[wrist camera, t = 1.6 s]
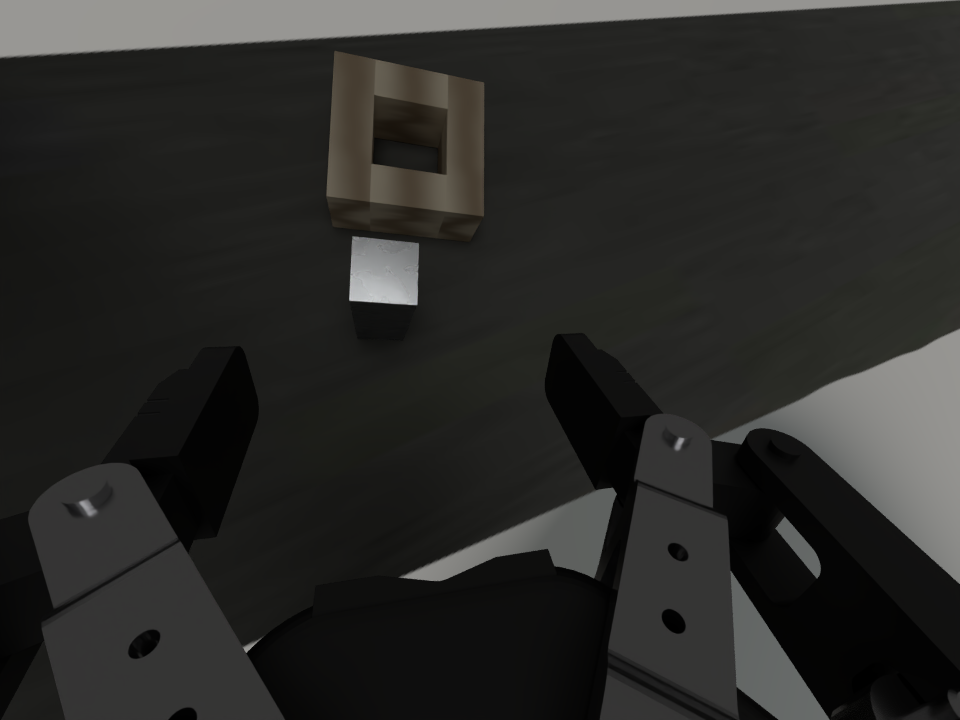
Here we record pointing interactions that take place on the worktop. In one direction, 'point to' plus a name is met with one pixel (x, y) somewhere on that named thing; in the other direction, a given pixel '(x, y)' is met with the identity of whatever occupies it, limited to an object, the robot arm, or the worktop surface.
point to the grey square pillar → (383, 287)
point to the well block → (410, 119)
